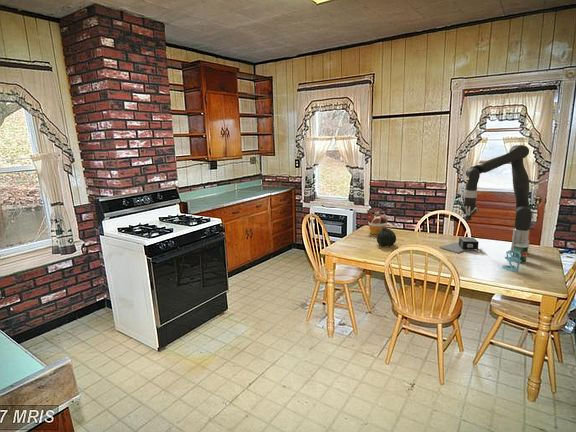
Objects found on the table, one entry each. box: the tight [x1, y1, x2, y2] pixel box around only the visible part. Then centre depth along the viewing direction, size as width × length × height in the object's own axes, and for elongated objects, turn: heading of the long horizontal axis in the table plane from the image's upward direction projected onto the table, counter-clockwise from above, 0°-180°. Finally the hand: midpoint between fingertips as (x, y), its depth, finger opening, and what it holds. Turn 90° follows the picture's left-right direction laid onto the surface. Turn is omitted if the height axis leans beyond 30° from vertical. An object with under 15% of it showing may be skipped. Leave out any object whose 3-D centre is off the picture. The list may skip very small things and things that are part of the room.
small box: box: [458, 236, 480, 251], centre depth 257 cm, size 11×6×10 cm
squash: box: [376, 227, 397, 248], centre depth 270 cm, size 14×15×15 cm
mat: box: [439, 241, 469, 254], centre depth 260 cm, size 15×20×1 cm
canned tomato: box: [512, 244, 529, 264], centre depth 230 cm, size 8×8×11 cm
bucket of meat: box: [365, 209, 389, 236], centre depth 302 cm, size 20×16×20 cm
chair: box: [501, 249, 522, 273], centre depth 217 cm, size 8×8×12 cm
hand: (468, 220), depth 248 cm, fingers closed
